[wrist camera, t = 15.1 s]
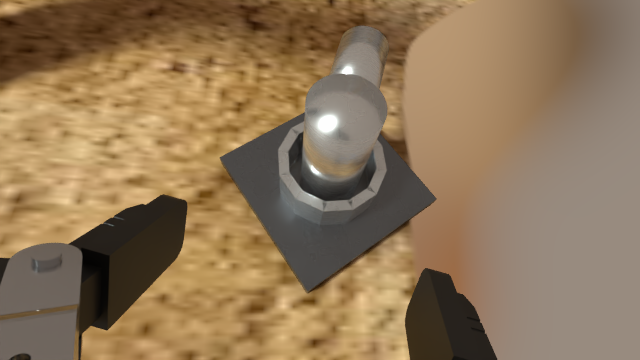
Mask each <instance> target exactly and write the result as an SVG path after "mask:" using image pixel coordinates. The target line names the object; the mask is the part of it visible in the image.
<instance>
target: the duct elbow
mask: <svg viewBox="0 0 640 360" xmlns="http://www.w3.org/2000/svg"><path fill="white" fill-rule="evenodd" d="M388 51H389V44H388V41H387V39H386V37H385V36H384V35H383V34H382V33H381V32H380V31H378V30H377V29H375V28H372V27H369V26H355V27H352V28H350V29H348V30H347V31H346V32H345V33H344V34H343V36H342V38H341V41H340V44H339V47H338V50H337V53H336V56H335V59H334V62H333V65H332V68H331V71H330V74H329V76H326V77H324V78H322V79H320V80H319V81H317V82H316V83H315V84H314V85H313V86H312V87H311V88H310V90H309V92H308V94H307V97H306V104H305V119H304V134H303V150H302V165H301V187H302V190H303V191H304V192H306V193H308V194H310V195H313V196H315V197H317V198H319V199H321V200H323V201H338V200H349V199H350V198H351V197H352V195H353V194H354V191H355V189H356V187H357V185H358V182H359V180H360V178H361V175H362V173H363V171H364V168H365V166H366V164H367V161H368V159H369V157H370V155H371V152H372V150H373V148H374V145H375V143H376V141H377V138H378V136H379V134H380V131H381V129H382V127H383V124H384V122H385V120H386V116H387V104H386V101H385V98H384V96H383V94H382V93H381V91H380V90H379V88H380V84H381V80H382V75H383V71H384V67H385V63H386V59H387V55H388Z"/></svg>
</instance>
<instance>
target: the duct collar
mask: <svg viewBox="0 0 640 360" xmlns="http://www.w3.org/2000/svg"><path fill="white" fill-rule="evenodd" d="M304 119H305V113H303V114H301V115H299V116H297V117H295V118H293V119H291V120H290V121H288V122H286V123H284V124H282V125H280V126H278V127H276V128H274V129H273V130H271V131H269V132H267V133H265V134H263V135H261V136H259V137H258V138H256V139H254V140H252V141H250V142H248V143H246V144H244V145H242V146H241V147H239V148H237V149H235V150H233V151H231V152H229V153H227V154H225V155H224V156H222V157H220V160H221V162H222V164H223V166H224V168H225V169H226V171H227V172H228V174H229V175H230V177H231V178H232V180H233V181H234V183H235V184H236V186H237V187H238V189H239V190H240V192H241V193H242V195H243V197H244V198H245V200H246V201H247V203H248V204H249V206H250V207H251V209H252V210H253V212H254V213H255V215H256V216H257V218H258V219H259V221H260V222H261V224H262V226H263V227H264V229H265V230H266V232H267V233H268V235H269V236H270V238H271V239H272V241H273V242H274V244H275V245H276V247H277V248H278V250H279V252H280V253H281V255H282V256H283V258H284V259H285V261H286V262H287V264H288V265H289V267H290V268H291V270H292V271H293V273H294V274H295V276H296V277H297V279H298V281H299V282H300V284H301V285H302V287H303V288H304V290H305V291H306V293H308V292H310V291H311V290H313V289H314V288H315V287H317V286H318V285H319V284H321V283H322V282H324V281H325V280H326V279H328V278H329V277H331V276H332V275H333V274H335V273H336V272H338V271H339V270H340V269H342V268H343V267H345V266H346V265H347V264H349V263H350V262H352V261H353V260H354V259H356V258H357V257H358V256H360V255H361V254H363V253H364V252H365V251H367V250H368V249H370V248H371V247H372V246H374V245H375V244H377V243H378V242H379V241H381V240H382V239H384V238H385V237H386V236H388V235H389V234H390V233H392V232H393V231H395V230H396V229H397V228H399V227H400V226H402V225H403V224H404V223H406V222H407V221H409V220H410V219H411V218H413V217H414V216H416V215H417V214H418V213H420V212H421V211H422V210H424V209H425V208H427V207H428V206H429V205H431V204H432V203H433V202H434V201H435V200H436V198H435V196H434V195H433V194H432V193H431V192H430V191H429V189H428V188H427V187H426V186H425V185H424V184H423V182H422V181H421V180H420V179H419V178H418V177H417V176H416V174H415V173H414V172H413V171H412V170H411V169H410V167H409V166H408V165H407V164H406V163H405V162H404V161H403V159H402V158H401V157H400V156H399V155H398V154H397V152H396V151H395V150H394V149H393V148H392V147H391V146H390V144H389V143H388V142H387V141H386V140H385V139H384V137H383V136H382V135H381V134H379V136H378V138H377V141H376V143H375V145H374V148H373V150H372V152H371V155H370V157H369V159H368V161H367V164H366V166H365V168H364V171H363V173H362V175H361V178H360V180H359V182H358V185H357V187H356V189H355V191H354V194H353V195H352V197H351V198H350V199H349V200H338V201H323V200H321V199H319V198H317V197H315V196H313V195H310V194H308V193H306V192H304V191H303V190H302V187H301V165H302V150H303V134H304Z"/></svg>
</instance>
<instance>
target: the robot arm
mask: <svg viewBox="0 0 640 360" xmlns="http://www.w3.org/2000/svg"><path fill="white" fill-rule="evenodd" d="M186 215H187V202H186V201H185V200H182V199H178V198H175V197H171V196H168V195H164V194H163V195H160V196H159V197H157V198H156V199H154V200H153V201H151V202H150V203H148V204H147V205H144V204H141V205H137V206H134V207H130V208H127V209H125V210H123V211H121V212H120V213H118V214H116V215H115V216H114V217H113V218H110V219H108V220H107V221H105V222H104V223H103V224H100V225H99V226H97V227H95V228H94V229H92V230H91V231H89V232H87V233H86V234H84V235H82V236H81V237H79V238H78V239H76V240H74V241H73V242H71V243H69V244H64V243H46V244H40V245H35V246H31V247H28V248H26V249H23V250H21V251H19V252H18V253H16V254H15V255H13V256H12V257H11V258H0V360H81V357H82V333H83V332H84V331H85V330H87V329H88V328H89V327H90V326H94V327H97V328H100V329H104V330H108V329H109V328H110V327H111V326H112V325H113V324H114V323H115V322H116V321H117V320H118V319H119V318H120V317H121V316H122V315H123V314H124V313H125V312H126V311H127V310H128V308H129V307H130V306H131V305H132V304H133V303H134V302H135V301H136V300H137V299H138V298H139V297H140V296H141V295H142V294H143V293H144V292H145V291H146V290H147V289H148V288H149V287H150V286H151V285H152V283H153V282H154V281H155V280H156V279H157V278H158V277H159V276H160V275H161V274H162V273H163V272H164V271H165V270H166V269H167V268H168V267H169V266H170V265H171V264H172V263H173V262H174V261H175V259H176V258H177V257H178V255H179V253H180V251H181V248H182V245H183V240H184V232H185V224H186ZM405 327H406V334H407V341H408V348H409V355H410V360H497V358H496V355H495V353H494V351H493V349H492V346H491V344H490V342H489V339H488V337H487V335H486V334H485V330H484V328H483V326H482V323H480V319H479V316H478V314H477V312H476V310H475V308H474V306H473V305H472V304H471V303H470V302H469V301H468V299H466V297H465V296H464V295H463V294H459V293H457V292H456V289H455V286H454V284H453V281H452V279H451V276H450V275H449V274H446V273H442V272H439V271H435V270H431V269H428V268H425V269H424V270H423V271H422V273H421V276H420V278H419V281H418V283H417V285H416V288H415V290H414V293H413V295H412V298H411V300H410V303H409V305H408V308H407V312H406V318H405Z"/></svg>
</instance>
